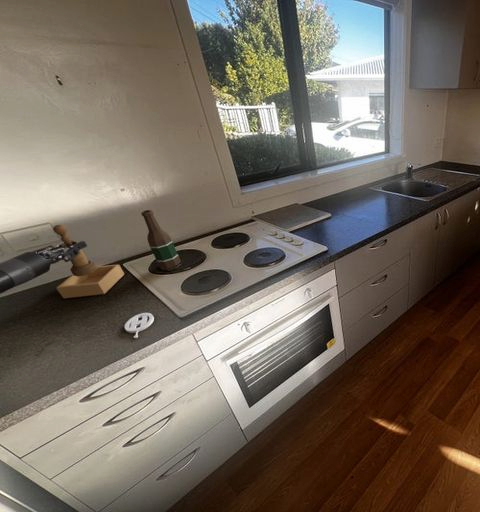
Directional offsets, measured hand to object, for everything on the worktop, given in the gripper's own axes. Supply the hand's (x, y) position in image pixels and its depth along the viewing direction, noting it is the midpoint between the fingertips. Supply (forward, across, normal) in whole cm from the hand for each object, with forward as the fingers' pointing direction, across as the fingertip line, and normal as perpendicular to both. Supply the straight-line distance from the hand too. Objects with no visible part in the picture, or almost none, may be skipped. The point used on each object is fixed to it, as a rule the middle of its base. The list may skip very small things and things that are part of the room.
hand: (79, 243), depth 101 cm
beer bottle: (+13, -18, +17) cm, 28 cm away
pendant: (-20, -34, +17) cm, 43 cm away
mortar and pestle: (-3, 0, +10) cm, 11 cm away
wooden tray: (-2, 0, +16) cm, 17 cm away
